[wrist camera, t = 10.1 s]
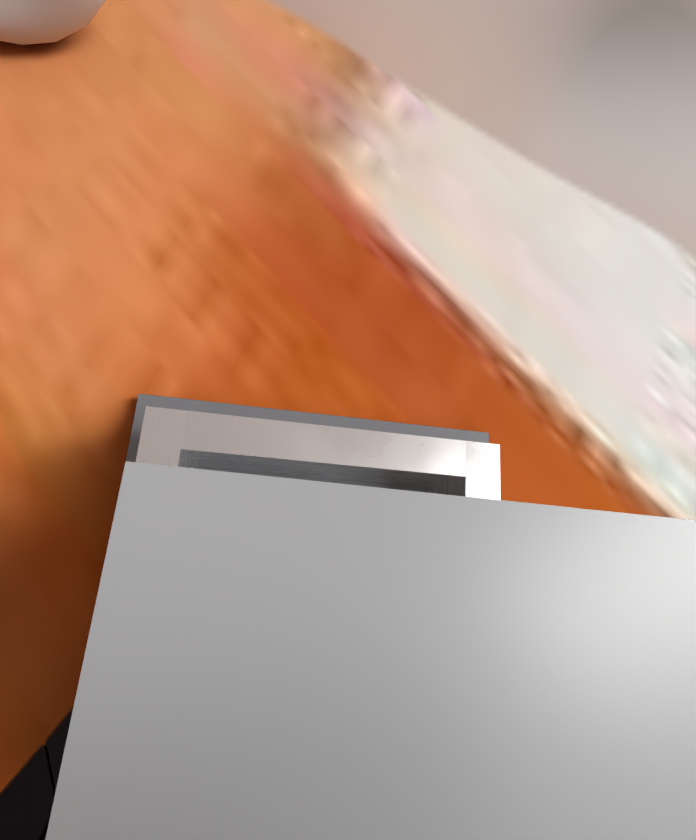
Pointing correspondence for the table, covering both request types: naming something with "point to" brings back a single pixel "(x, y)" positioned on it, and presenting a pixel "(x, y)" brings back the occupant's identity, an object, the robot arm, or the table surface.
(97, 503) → the table surface
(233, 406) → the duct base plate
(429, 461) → the metal collar
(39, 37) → the donut
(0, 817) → the robot arm
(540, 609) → the gray square block
